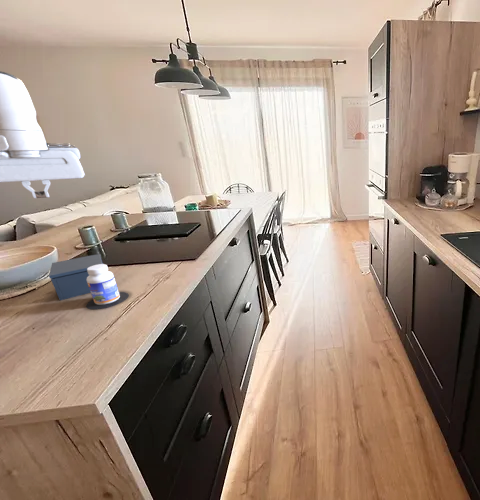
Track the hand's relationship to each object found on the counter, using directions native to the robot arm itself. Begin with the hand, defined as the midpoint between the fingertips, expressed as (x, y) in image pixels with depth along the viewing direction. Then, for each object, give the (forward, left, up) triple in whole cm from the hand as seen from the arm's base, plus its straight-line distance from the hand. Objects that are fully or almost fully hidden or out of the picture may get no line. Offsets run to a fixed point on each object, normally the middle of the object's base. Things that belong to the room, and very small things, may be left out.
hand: (42, 197), depth 77 cm
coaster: (+13, -17, -26) cm, 34 cm away
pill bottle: (+13, -17, -26) cm, 33 cm away
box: (+4, -5, -26) cm, 27 cm away
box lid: (+4, -5, -19) cm, 20 cm away
